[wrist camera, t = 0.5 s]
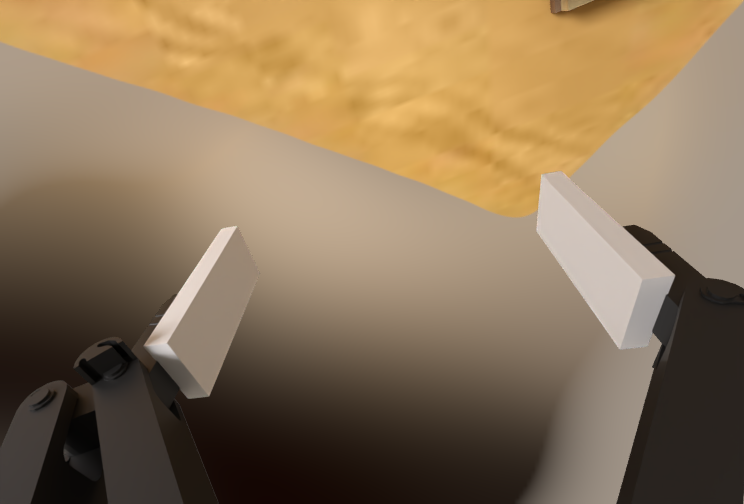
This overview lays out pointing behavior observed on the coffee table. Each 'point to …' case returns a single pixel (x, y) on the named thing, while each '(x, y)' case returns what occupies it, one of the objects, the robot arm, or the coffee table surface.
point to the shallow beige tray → (566, 4)
